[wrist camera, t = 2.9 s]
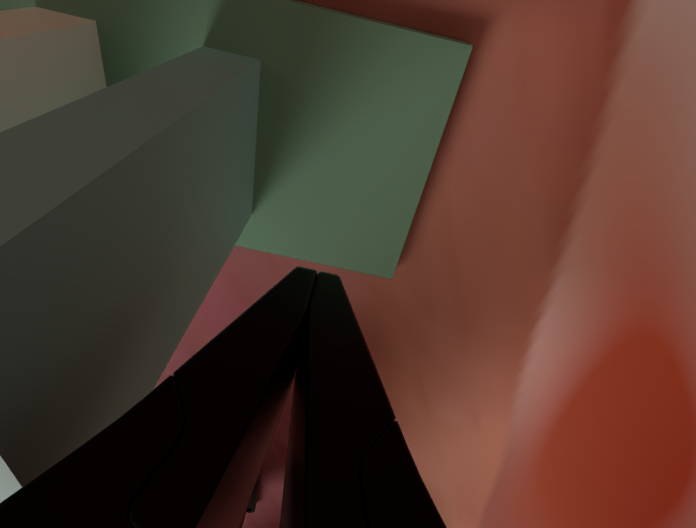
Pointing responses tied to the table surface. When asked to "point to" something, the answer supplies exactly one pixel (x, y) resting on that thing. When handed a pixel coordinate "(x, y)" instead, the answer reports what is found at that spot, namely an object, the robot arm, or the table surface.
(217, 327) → the table surface
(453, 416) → the table surface
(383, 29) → the baize strip
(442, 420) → the table surface
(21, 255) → the domino
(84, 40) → the domino
